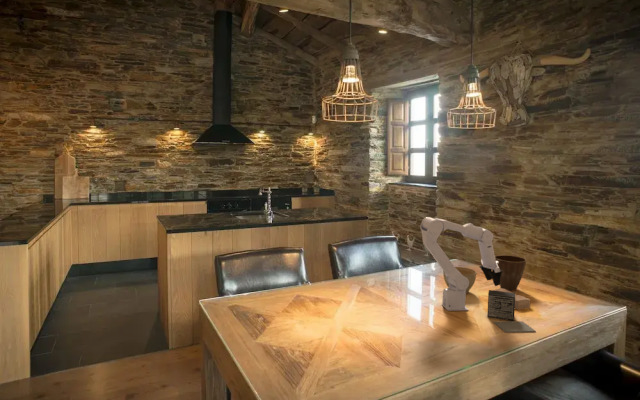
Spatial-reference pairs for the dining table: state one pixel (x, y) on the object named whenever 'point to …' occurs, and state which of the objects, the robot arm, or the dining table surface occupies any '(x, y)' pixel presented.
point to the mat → (514, 326)
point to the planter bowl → (467, 273)
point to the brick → (518, 300)
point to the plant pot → (510, 271)
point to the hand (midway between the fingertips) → (493, 282)
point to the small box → (501, 305)
